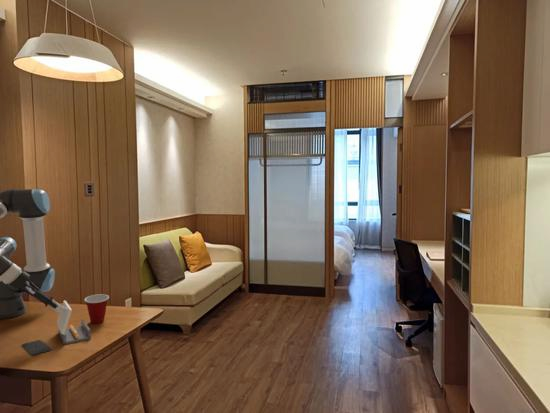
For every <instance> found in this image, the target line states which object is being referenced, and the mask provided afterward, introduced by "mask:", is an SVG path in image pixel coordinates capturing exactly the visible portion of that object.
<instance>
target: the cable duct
mask: <svg viewBox="0 0 550 413" xmlns="http://www.w3.org/2000/svg"><path fill="white" fill-rule="evenodd" d="M80 320H81V322H80V324H81V325H80V326H76V327H74V325H72V324H70V326H69V328H66V330H65V333H64V334H61V332H60V330H59V329H58V335H59V337H60V339H61V341H62V343H63V345H69V344H73V343H78V342H83V341H88V340H91V332H92V331H91V328H90V327H89V326H88V324H87V323H86V321H85V320H84V319H80Z"/></svg>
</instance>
